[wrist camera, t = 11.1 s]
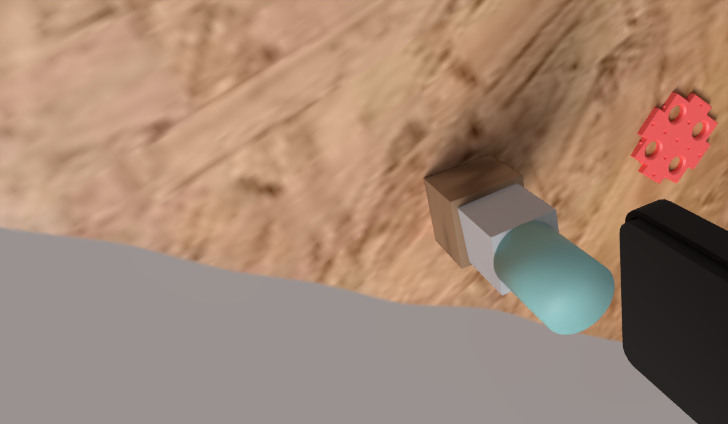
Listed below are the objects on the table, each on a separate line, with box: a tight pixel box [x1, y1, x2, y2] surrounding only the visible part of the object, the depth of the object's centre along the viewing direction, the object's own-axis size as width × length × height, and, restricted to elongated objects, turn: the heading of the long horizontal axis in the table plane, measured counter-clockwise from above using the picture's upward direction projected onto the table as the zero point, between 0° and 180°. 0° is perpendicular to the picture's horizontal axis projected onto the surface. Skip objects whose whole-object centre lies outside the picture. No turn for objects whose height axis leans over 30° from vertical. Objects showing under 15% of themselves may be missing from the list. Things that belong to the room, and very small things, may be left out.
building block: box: [631, 92, 718, 183], centre depth 55 cm, size 1×8×8 cm
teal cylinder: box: [493, 221, 614, 335], centre depth 39 cm, size 5×5×6 cm
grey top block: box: [458, 183, 559, 295], centre depth 44 cm, size 5×5×5 cm
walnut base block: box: [424, 155, 524, 268], centre depth 48 cm, size 6×6×5 cm
